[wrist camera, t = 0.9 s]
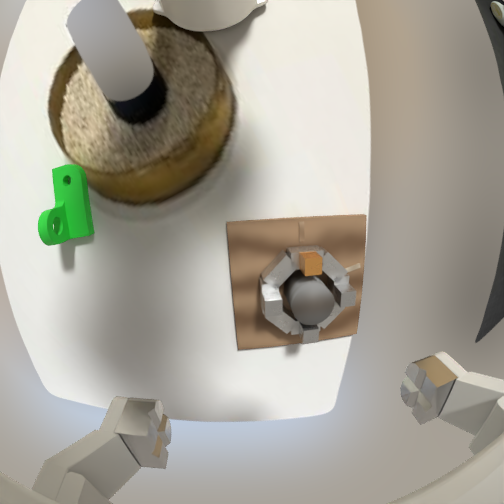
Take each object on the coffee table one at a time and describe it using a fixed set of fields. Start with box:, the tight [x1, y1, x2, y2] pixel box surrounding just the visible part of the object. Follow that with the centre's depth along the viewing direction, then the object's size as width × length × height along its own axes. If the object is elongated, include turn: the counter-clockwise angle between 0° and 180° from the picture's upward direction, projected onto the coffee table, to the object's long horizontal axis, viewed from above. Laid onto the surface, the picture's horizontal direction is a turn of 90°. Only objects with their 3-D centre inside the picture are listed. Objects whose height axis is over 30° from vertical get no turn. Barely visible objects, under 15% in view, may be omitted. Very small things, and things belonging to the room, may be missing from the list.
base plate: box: [227, 214, 366, 350], centre depth 40 cm, size 22×22×8 cm
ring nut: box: [259, 245, 356, 344], centre depth 40 cm, size 14×14×6 cm
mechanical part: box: [38, 165, 94, 246], centre depth 34 cm, size 12×6×8 cm, turn 5°
